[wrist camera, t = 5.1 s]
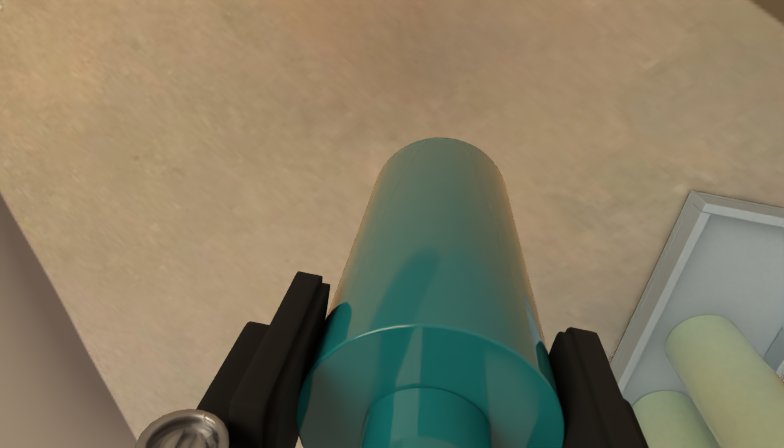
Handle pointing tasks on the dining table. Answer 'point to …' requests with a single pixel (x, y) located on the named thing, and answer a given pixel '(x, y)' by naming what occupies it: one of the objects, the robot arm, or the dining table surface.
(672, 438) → the bottle
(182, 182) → the dining table surface
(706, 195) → the tray
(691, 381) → the bottle
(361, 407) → the loose bottle
